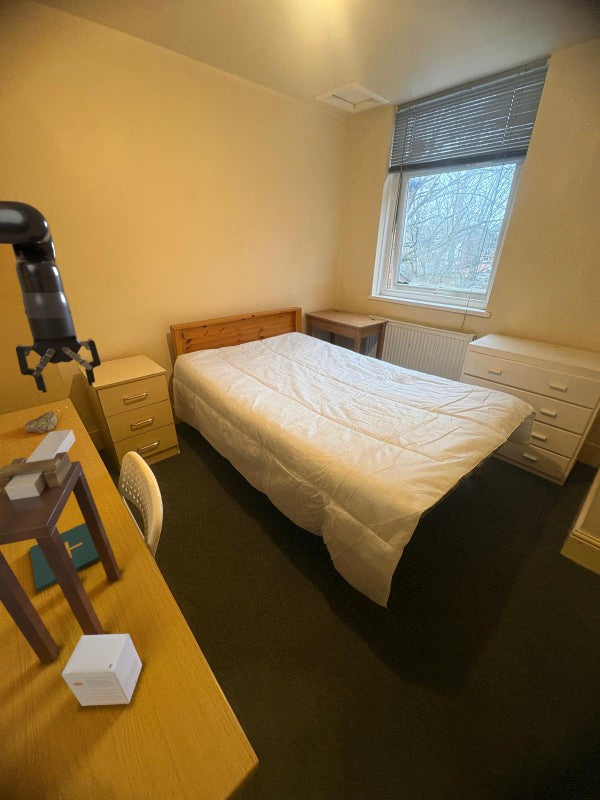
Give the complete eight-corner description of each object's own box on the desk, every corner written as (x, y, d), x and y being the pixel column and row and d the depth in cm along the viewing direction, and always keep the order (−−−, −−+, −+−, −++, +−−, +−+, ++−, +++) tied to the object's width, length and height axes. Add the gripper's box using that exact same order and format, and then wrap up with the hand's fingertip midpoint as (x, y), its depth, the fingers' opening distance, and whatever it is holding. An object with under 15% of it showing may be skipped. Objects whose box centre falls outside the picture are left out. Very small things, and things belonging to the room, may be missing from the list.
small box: (143, 665, 58) (130, 632, 53) (129, 705, 53) (114, 672, 48) (98, 666, 58) (81, 633, 53) (80, 707, 53) (59, 674, 48)
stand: (42, 664, 58) (-52, 522, 42) (71, 583, 72) (8, 452, 56) (103, 646, 61) (36, 506, 45) (120, 571, 74) (73, 444, 58)
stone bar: (10, 500, 51) (4, 488, 50) (53, 442, 66) (49, 431, 64) (39, 495, 52) (34, 483, 51) (75, 439, 66) (72, 429, 65)
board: (37, 592, 70) (35, 589, 69) (31, 550, 79) (29, 547, 79) (108, 555, 78) (107, 552, 78) (94, 521, 88) (93, 518, 87)
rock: (36, 420, 135) (31, 413, 133) (62, 414, 138) (57, 408, 136) (24, 439, 125) (18, 432, 123) (52, 433, 127) (47, 426, 125)
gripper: (88, 311, 73) (102, 378, 79) (6, 314, 65) (28, 389, 71) (91, 314, 68) (106, 387, 73) (2, 318, 60) (27, 399, 65)
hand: (68, 388), depth 72 cm, fingers open, 8 cm apart
